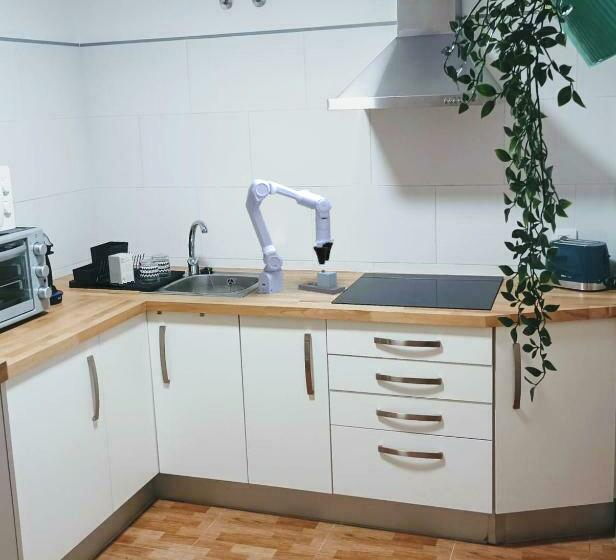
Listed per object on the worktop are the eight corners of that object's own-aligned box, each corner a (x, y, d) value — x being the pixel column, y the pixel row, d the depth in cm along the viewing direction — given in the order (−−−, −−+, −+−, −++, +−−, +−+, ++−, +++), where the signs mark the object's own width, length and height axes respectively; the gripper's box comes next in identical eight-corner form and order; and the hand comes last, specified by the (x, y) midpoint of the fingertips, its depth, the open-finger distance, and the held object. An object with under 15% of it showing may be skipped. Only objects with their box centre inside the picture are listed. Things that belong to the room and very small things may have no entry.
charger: (329, 293, 307) (328, 272, 305) (317, 291, 311) (317, 270, 309) (337, 290, 310) (336, 270, 309) (325, 289, 314) (324, 268, 313)
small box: (123, 282, 346) (120, 252, 343) (134, 283, 343) (132, 253, 340) (110, 286, 339) (107, 255, 336) (122, 287, 336) (119, 256, 333)
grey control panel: (333, 296, 304) (333, 289, 304) (298, 290, 316) (298, 284, 316) (345, 293, 309) (345, 285, 309) (310, 287, 321) (309, 280, 321)
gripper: (329, 231, 307) (330, 266, 310) (336, 225, 321) (337, 259, 324) (311, 231, 309) (312, 265, 311) (319, 225, 322) (320, 259, 325)
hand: (324, 262), depth 318 cm, fingers open, 7 cm apart
